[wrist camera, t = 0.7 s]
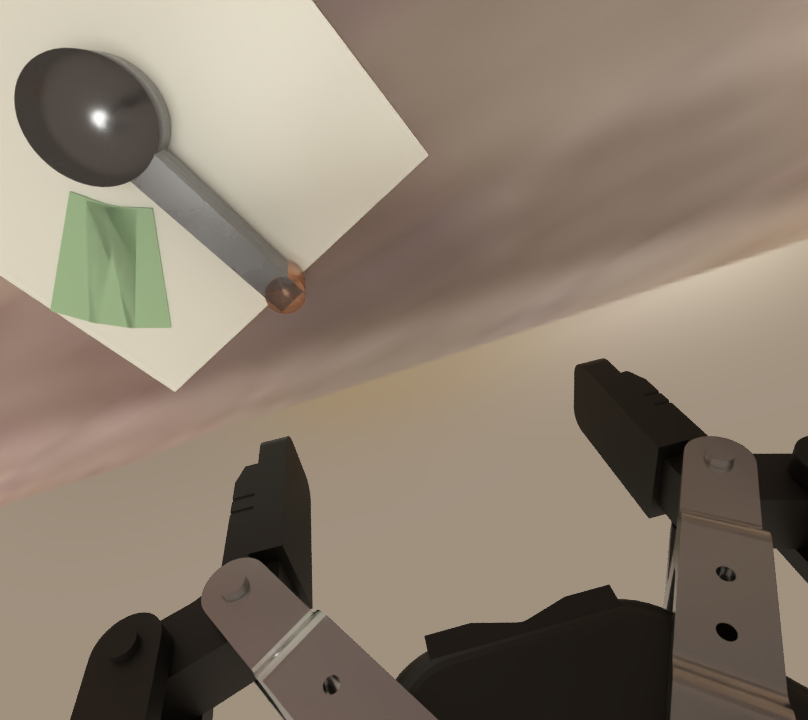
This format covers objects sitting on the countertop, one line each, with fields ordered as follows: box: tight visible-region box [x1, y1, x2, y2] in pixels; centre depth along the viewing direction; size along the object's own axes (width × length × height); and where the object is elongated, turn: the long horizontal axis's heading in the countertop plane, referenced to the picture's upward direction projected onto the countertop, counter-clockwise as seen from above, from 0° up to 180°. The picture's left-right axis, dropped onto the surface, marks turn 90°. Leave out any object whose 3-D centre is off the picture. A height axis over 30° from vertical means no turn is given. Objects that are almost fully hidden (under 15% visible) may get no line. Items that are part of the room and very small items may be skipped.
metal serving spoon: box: [14, 48, 305, 314], centre depth 23 cm, size 14×5×3 cm, turn 40°
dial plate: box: [0, 0, 428, 392], centre depth 23 cm, size 20×22×2 cm
